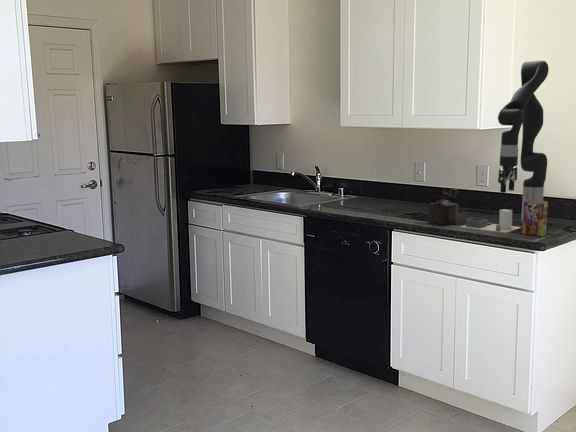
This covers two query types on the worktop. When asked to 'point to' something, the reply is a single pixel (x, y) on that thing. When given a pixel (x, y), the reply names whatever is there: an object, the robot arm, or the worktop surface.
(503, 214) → the plug
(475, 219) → the board
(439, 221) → the manual coffee grinder
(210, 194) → the worktop surface
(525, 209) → the candy box
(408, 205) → the worktop surface
